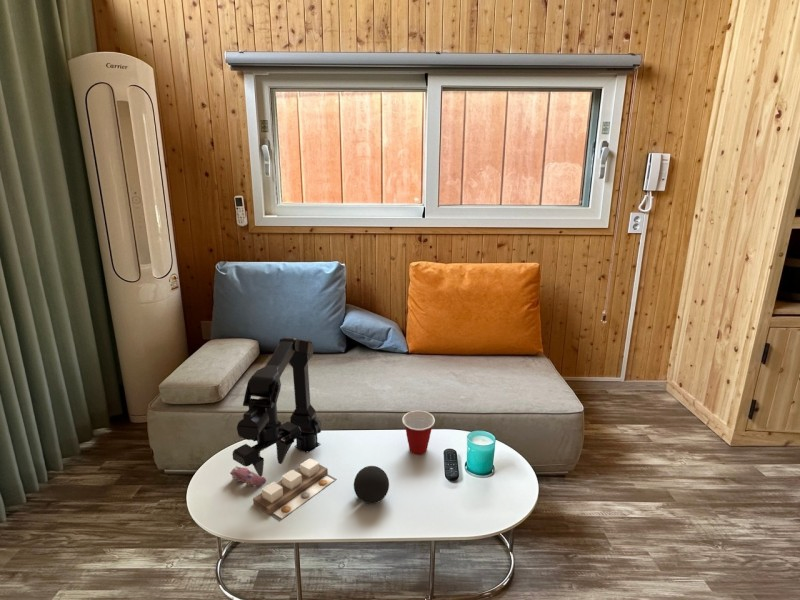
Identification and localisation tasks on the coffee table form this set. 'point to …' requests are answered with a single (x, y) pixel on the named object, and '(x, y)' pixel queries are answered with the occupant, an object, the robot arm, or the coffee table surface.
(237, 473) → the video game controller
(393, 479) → the coffee table surface
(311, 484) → the button board
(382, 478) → the speaker
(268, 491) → the button
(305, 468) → the button
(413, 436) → the plastic cup
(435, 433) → the coffee table surface
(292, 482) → the button middle
